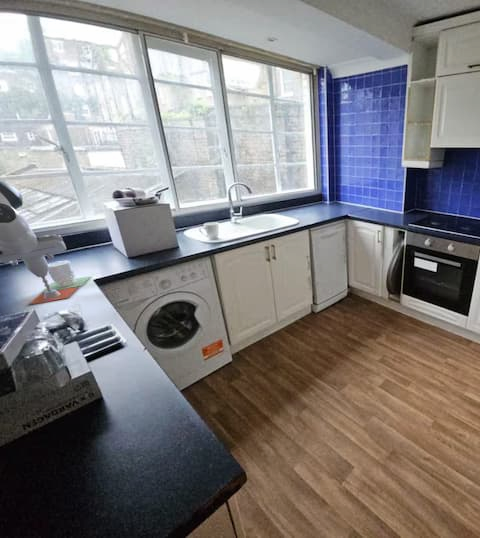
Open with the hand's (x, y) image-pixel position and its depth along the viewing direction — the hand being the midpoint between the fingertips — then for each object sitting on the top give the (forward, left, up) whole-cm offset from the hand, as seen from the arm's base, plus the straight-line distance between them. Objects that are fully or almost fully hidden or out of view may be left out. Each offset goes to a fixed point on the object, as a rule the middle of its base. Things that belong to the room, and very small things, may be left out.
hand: (33, 260), depth 110 cm
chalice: (-3, +8, -18) cm, 20 cm away
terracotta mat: (-3, +8, -18) cm, 20 cm away
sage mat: (-3, +20, -18) cm, 27 cm away
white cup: (-3, +20, -18) cm, 27 cm away
